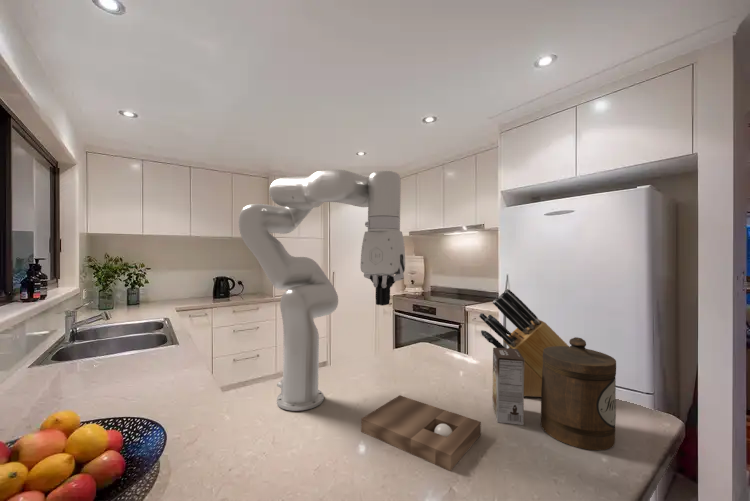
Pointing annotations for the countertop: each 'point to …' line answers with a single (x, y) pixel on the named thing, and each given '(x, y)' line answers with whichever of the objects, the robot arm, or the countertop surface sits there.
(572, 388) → the wooden container
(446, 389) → the countertop surface
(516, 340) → the knife block
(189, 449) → the countertop surface
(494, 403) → the coffee box
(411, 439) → the board
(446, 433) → the ball
